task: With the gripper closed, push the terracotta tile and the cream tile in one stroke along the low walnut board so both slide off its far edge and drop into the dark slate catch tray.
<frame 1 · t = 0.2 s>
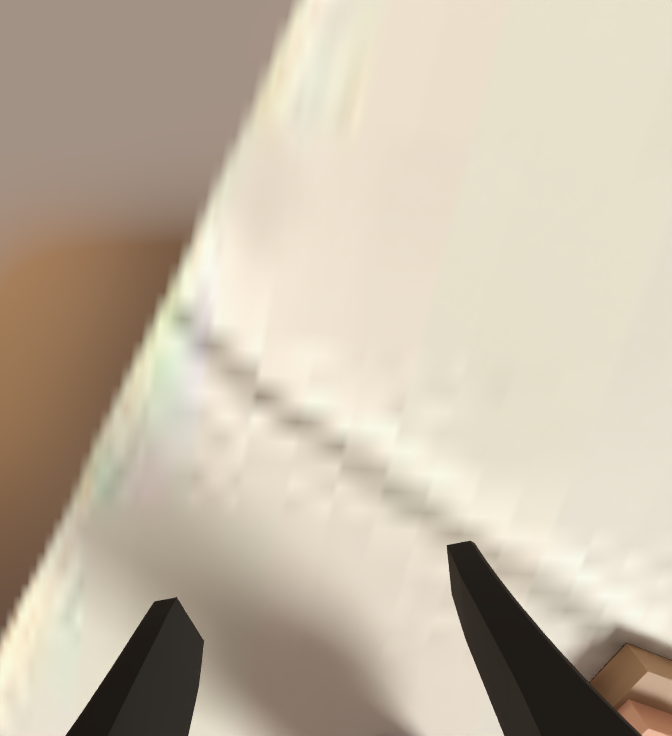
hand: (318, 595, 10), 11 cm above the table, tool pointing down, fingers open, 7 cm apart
walnut board: (636, 710, 28), on the table
terracotta tile: (632, 726, 26), point 2 cm above the table, touching walnut board
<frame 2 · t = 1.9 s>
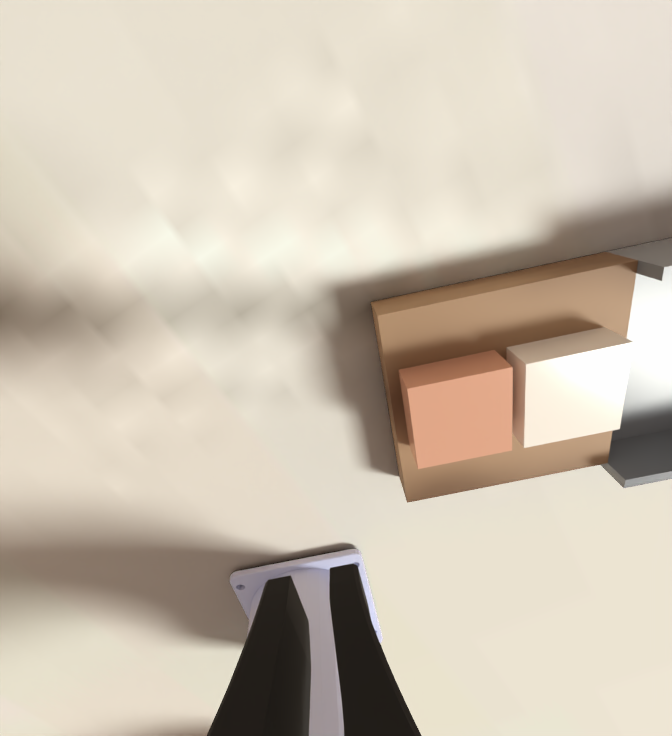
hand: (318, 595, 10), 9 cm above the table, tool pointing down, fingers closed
cream tile: (552, 379, 17), point 2 cm above the table, touching walnut board
walnut board: (489, 379, 19), on the table
terracotta tile: (449, 400, 17), point 2 cm above the table, touching walnut board
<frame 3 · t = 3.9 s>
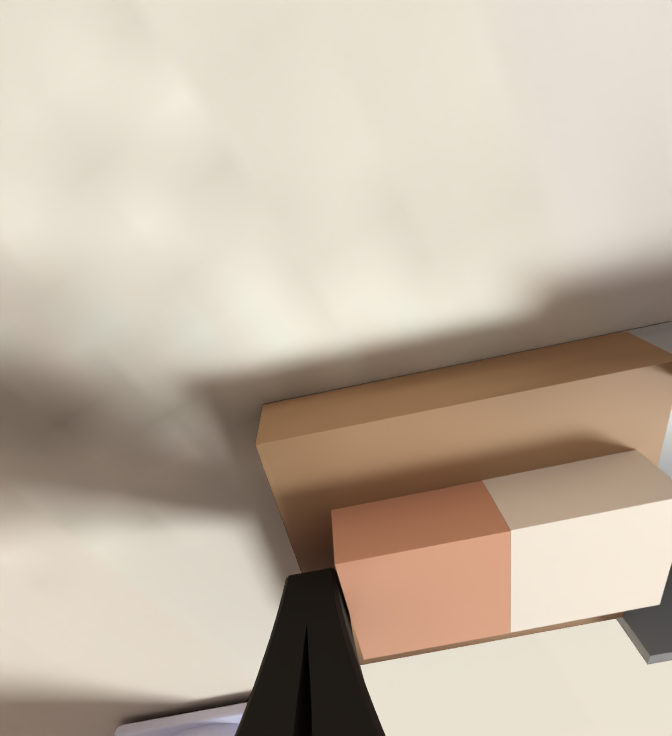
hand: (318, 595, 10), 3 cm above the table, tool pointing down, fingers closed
cream tile: (554, 519, 11), point 2 cm above the table, touching walnut board
walnut board: (452, 500, 13), on the table
terracotta tile: (414, 546, 11), point 2 cm above the table, touching gripper
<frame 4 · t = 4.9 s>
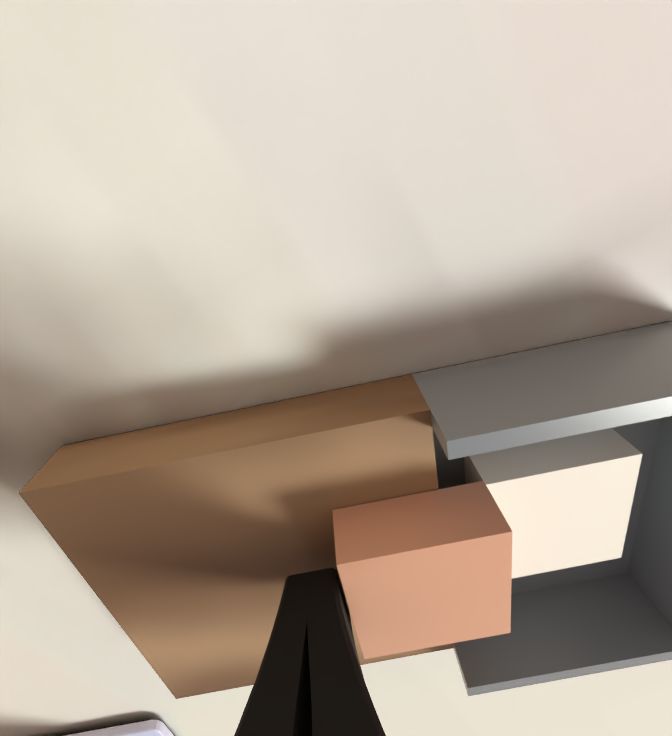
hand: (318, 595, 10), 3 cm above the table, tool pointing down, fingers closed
cream tile: (529, 483, 12), resting on slate tray, touching terracotta tile
slate tray: (540, 488, 13), on the table
walnut board: (280, 533, 13), on the table
terracotta tile: (415, 546, 11), point 2 cm above the table, touching cream tile, gripper
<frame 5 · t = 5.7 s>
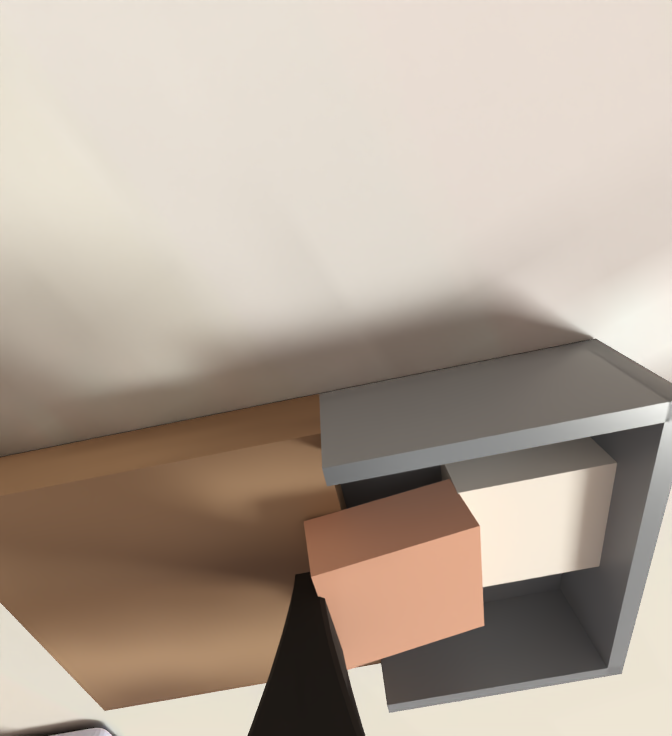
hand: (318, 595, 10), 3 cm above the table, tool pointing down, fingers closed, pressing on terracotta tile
cream tile: (508, 489, 12), resting on slate tray, touching terracotta tile
slate tray: (464, 505, 13), on the table
walnut board: (204, 548, 13), on the table
terracotta tile: (387, 550, 11), point 2 cm above the table, tilted 7°, touching cream tile, gripper, walnut board
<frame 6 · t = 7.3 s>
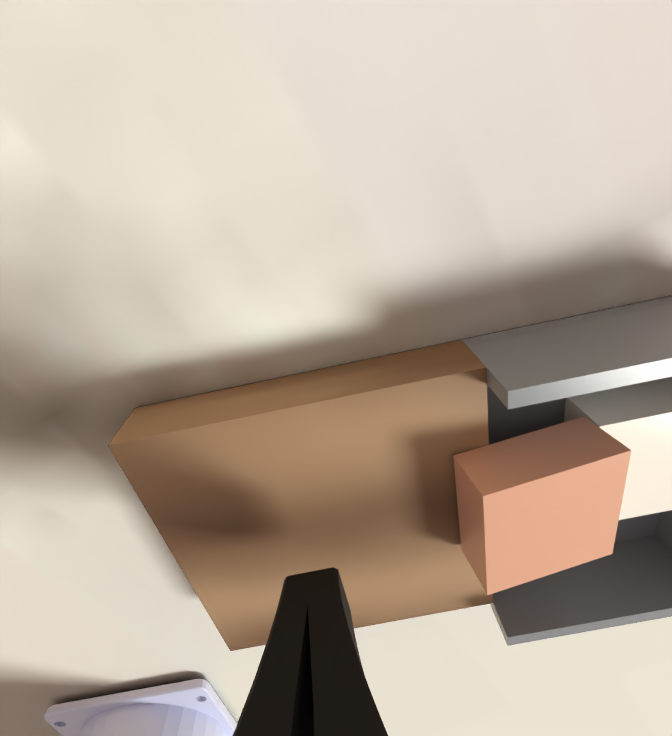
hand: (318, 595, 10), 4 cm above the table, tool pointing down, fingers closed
cream tile: (622, 434, 13), resting on slate tray, touching terracotta tile
slate tray: (575, 452, 14), on the table
walnut board: (330, 495, 14), on the table
terracotta tile: (518, 487, 12), point 2 cm above the table, tilted 7°, touching cream tile, walnut board
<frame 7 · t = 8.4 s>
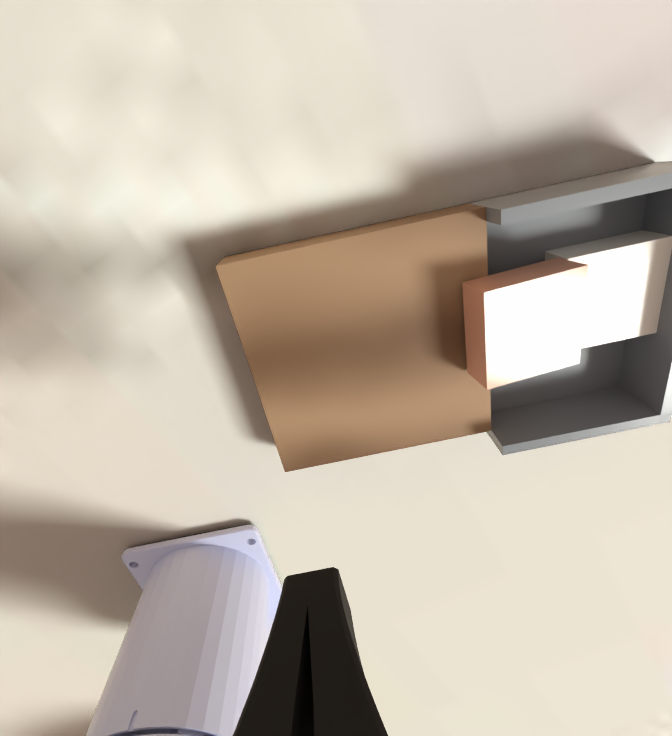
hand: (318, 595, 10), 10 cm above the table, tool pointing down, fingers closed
cream tile: (588, 287, 17), resting on slate tray, touching terracotta tile
slate tray: (554, 307, 18), on the table
walnut board: (365, 342, 18), on the table
terracotta tile: (510, 317, 16), point 2 cm above the table, tilted 7°, touching cream tile, walnut board
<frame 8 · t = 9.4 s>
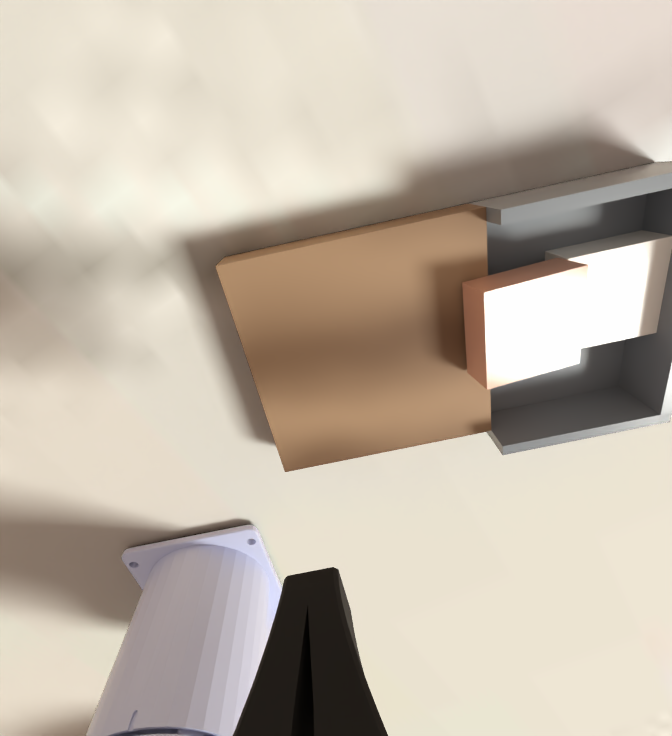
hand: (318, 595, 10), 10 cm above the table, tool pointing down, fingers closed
cream tile: (588, 287, 17), resting on slate tray, touching terracotta tile
slate tray: (554, 307, 18), on the table
walnut board: (365, 342, 18), on the table
terracotta tile: (510, 317, 16), point 2 cm above the table, tilted 7°, touching cream tile, walnut board
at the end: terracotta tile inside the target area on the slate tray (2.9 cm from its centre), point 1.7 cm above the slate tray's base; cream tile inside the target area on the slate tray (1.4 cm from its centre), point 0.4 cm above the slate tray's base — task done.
